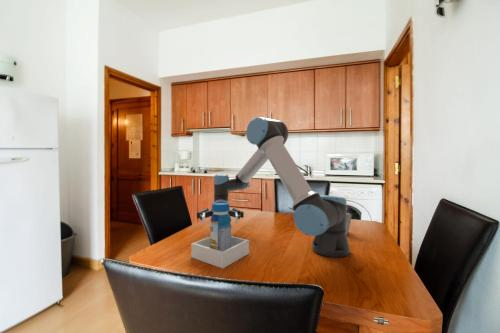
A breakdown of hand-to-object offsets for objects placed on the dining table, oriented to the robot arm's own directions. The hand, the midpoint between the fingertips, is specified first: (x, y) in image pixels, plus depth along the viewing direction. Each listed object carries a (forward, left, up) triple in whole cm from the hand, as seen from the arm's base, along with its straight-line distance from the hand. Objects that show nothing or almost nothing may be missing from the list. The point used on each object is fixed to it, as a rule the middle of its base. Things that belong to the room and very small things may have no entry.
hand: (220, 219), depth 100 cm
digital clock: (-30, -57, -14) cm, 66 cm away
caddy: (-2, +2, -14) cm, 14 cm away
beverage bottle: (-2, +1, -13) cm, 13 cm away
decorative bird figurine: (-6, -69, -14) cm, 71 cm away
